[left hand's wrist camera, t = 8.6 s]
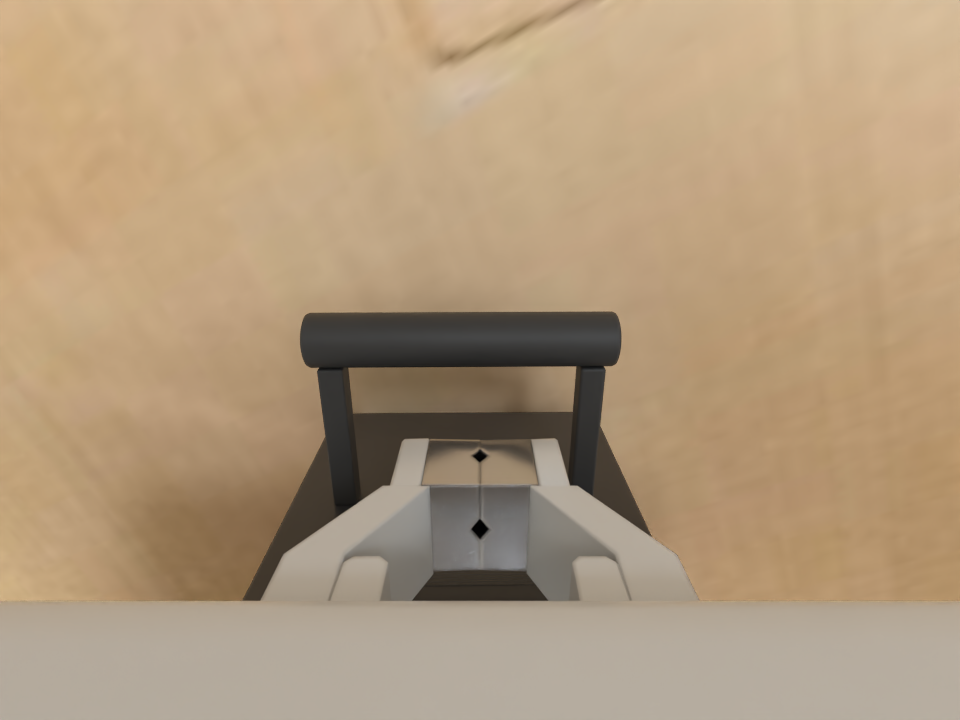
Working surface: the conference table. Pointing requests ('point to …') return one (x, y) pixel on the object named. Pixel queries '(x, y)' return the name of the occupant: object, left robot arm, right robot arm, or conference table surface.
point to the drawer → (450, 419)
